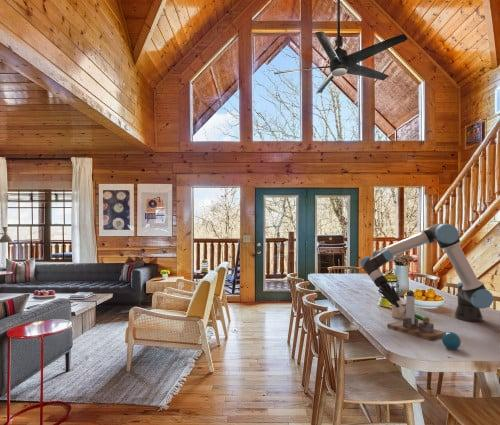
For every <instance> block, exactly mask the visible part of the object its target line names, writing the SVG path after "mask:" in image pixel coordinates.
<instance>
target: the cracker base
mask: <svg viewBox="0 0 500 425" xmlns="http://www.w3.org/2000/svg"><path fill="white" fill-rule="evenodd" d="M426 317H427V316H425V318H423V320H422V322H419V318H417V317H415V324H413V325H412V320H410V319H407V317H406V318H404V319H402V320H398V321H395V322H390V323H386V324H387V326H386V327H387V328H388V329H392V330H395V331H398V332H401V333H405V334H408V335H410V336H411V335H412V336H415V337H417V338H422V339H425V340H428V341H435V340H437V339H440V338H441V339H442V336H443V335H444V334H445V333H446V331H443V330H440V329H435V327H434V325H435V324H434V323H432V322H430V318H429V317H427V318H426ZM428 318H429V319H428Z"/></svg>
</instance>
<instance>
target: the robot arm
mask: <svg viewBox="0 0 500 425" xmlns="http://www.w3.org/2000/svg"><path fill="white" fill-rule="evenodd" d="M433 243H437V244H438V247H439V248H440V249H441V250H444V252H445V254H446V255H447V257H448V259H449V261H450V263H451V265H452V267H453V269H454V270H455V273H456V274H457V277H458V278H459V280H460V281H459V282H458V283H457V287H456V288H457V289H456V290H457V306H456V309H455V311H454V318H456V319H458V320H462V321H464V322H465V321H466V322H472V323H473V322H477V323H478V322H483V321H484V320H483V318H484V317H483V314H482V311H481V309H488V308H489V307H490V306H492V304H493V302H494V295H493V293H492V292H491V291H490V290H488V289H487V288H486V286H485V284H484V283H483V281H481V280H479V279H478V277H477V275H476V274H475V272H474V269H473V268H472V266H471V264H470V262H469V260H468V258H467V257H466V255H465V253H464V251H463V249H462V248H461V245H460V243H461V239H460V238H459V230H458V228H457V227H456V226H454V225H453V224H450V223H446V222H445V223H435V224H433V225H431V226H429V227H427V228H424V229H422V230H420V232H419V233H416V234H414V235H412V236H408V237H407V238H404V239H402V240H399V241H397V242H395V243H392V244H390V245H388V246H385V247H383V248H380V249H376V250H374V251H373V252H372V256H371V257H370V255H369V256H364V257H363V258H361V260H360V261H359V263H360V266H361V267H362V268H363V270H364V272H365V273H366V274H367V276H369V278H370V279H371V281H372V282H373V284H374V285H375V286H376V288H379V289H378V290H377V291H378V292H379V293H380V294H381V295H382V296H383V297H384V298H385V299H386V300H387V301H388V302H389V303H390V304H391V305H392V304H394V305H395V306H396V307H397V308H398V310H399V311H400V312H401V313H403V312H404V311H406V310H405V309H404V307H403V306H402V305H401V303H400V302H399V300H400V299H401V297H400V296H399V294H398V292H397V291H396V289H395V287H394V285H392V286H391V285H390V284H389V282H388V279H387V278H386V276H385V275H384V273H383V272H382V271H381V270H380V269H379V268H380V267H382V266H384V265H385V264H387V263H389V262H390V261H392V260H393V259H394V257H395V256H397V255H400V254H404V253H405V252H408V251H410V250H413V249H416V248H417V247H420V246H423V245H429V244H433Z"/></svg>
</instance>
